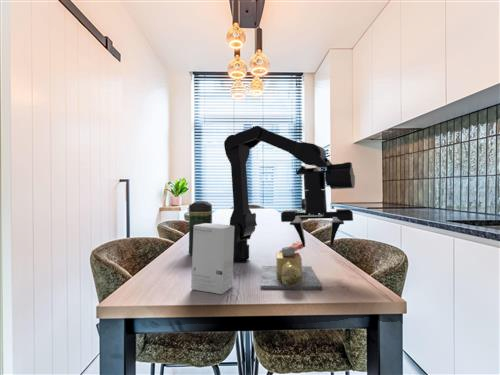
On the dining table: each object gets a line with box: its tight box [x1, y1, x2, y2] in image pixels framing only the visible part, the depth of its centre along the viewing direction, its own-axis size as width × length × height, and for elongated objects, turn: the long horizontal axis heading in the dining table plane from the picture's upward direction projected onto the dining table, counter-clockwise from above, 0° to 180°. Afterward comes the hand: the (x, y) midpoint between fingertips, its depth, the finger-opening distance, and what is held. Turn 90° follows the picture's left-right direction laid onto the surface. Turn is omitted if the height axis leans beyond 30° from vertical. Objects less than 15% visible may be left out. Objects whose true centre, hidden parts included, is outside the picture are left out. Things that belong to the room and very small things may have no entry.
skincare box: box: [190, 223, 234, 295], centre depth 66 cm, size 8×6×15 cm
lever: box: [281, 241, 305, 256], centre depth 76 cm, size 12×3×2 cm, turn 151°
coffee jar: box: [188, 200, 213, 256], centre depth 100 cm, size 10×8×19 cm
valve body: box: [260, 249, 323, 291], centre depth 73 cm, size 18×14×6 cm
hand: (317, 246), depth 78 cm, fingers open, 7 cm apart
